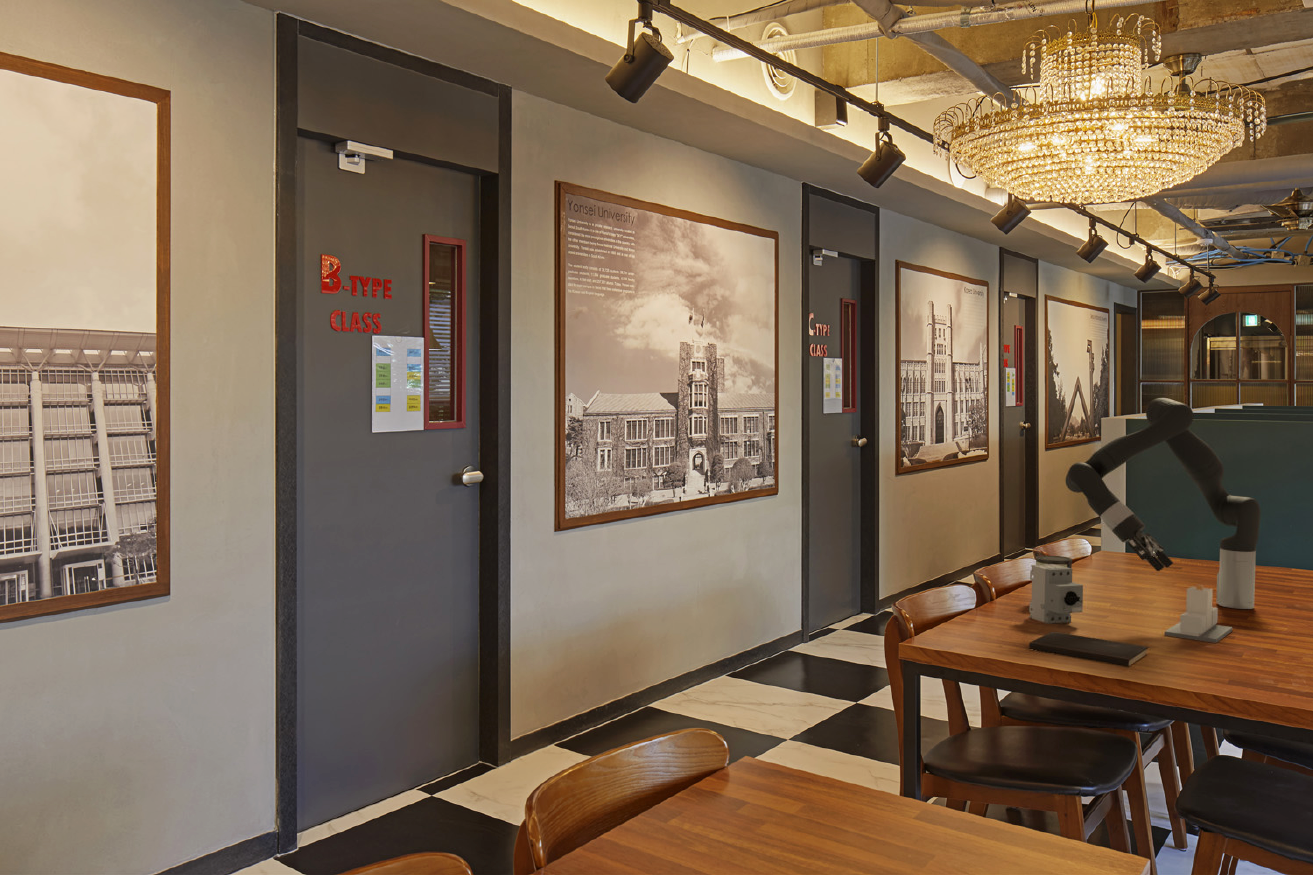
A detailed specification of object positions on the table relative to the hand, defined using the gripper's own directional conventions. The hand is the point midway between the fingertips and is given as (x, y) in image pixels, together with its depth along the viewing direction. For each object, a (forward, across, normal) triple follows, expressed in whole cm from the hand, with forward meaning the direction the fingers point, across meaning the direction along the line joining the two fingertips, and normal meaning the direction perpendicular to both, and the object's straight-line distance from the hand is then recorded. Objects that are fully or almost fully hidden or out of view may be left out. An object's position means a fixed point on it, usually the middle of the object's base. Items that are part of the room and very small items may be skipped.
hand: (1166, 567), depth 261 cm
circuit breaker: (-5, -13, +29) cm, 32 cm away
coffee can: (-12, +11, +36) cm, 39 cm away
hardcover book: (+8, -41, +17) cm, 45 cm away
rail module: (+16, 0, +5) cm, 17 cm away
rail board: (+18, 0, +6) cm, 19 cm away
